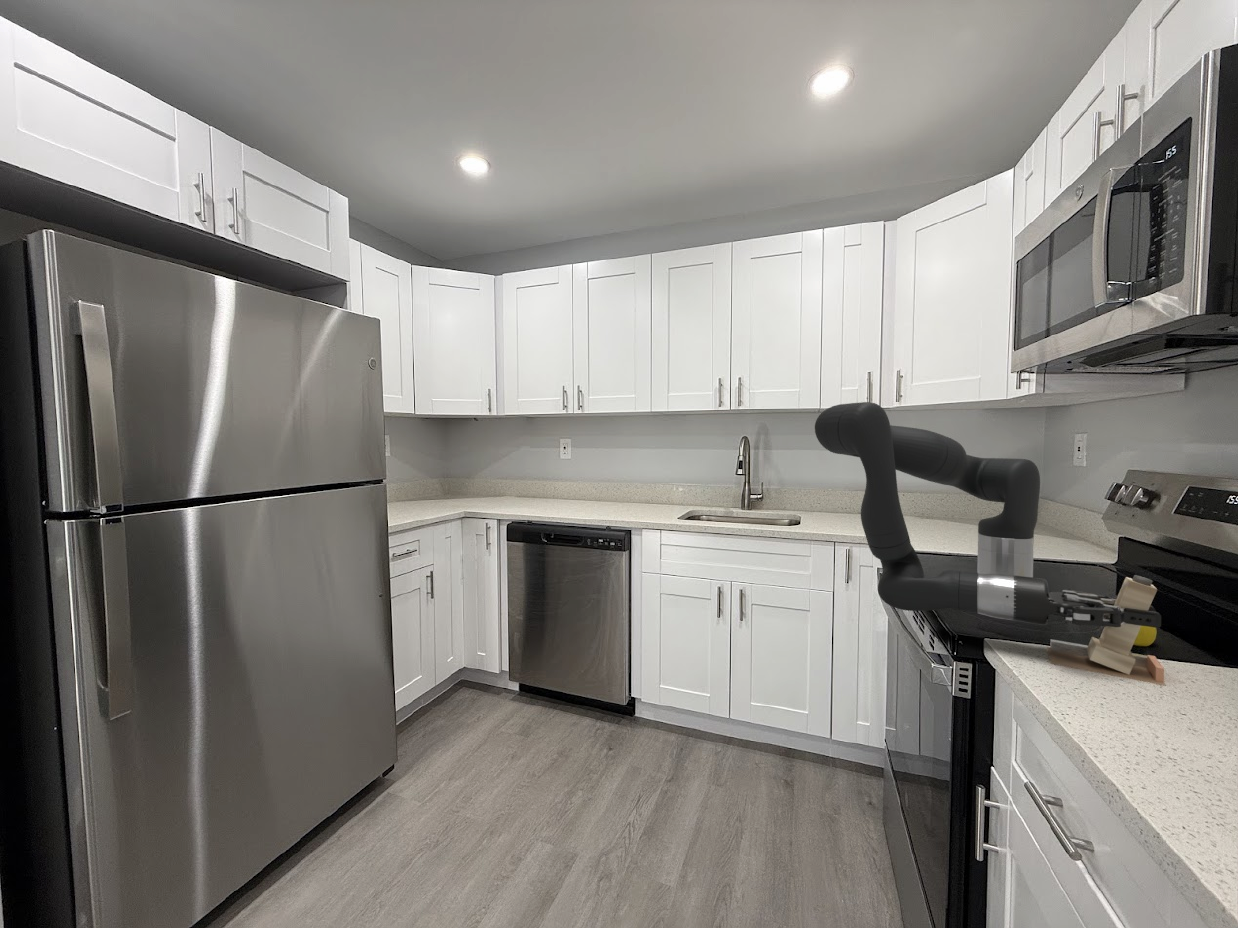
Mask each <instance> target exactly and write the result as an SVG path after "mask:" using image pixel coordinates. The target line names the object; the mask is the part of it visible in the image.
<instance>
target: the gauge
mask: <svg viewBox="0 0 1238 928" xmlns="http://www.w3.org/2000/svg"><path fill="white" fill-rule="evenodd" d="M1152 583H1153V580H1152V579H1150V578H1147V577H1145V576H1141V575H1138V574H1134V575H1133V577H1132V578H1131V577H1128V576H1126V577H1125V578H1124V580H1123V582H1122V585H1121V588H1120V589H1119V592H1118V594H1117V597H1116V598H1115V599H1116V601H1115V604H1114V606H1121V607H1123V608H1130V609H1138V610H1146V611H1148V610H1149V607H1150V606H1152V602H1153V600H1154V598H1155V596H1156V594H1157V592H1158V589H1157V587H1156V586H1154V584H1152ZM1108 618H1110V615H1109V616H1108ZM1103 627H1104V628H1103V630H1102V631H1101V632H1102V633H1101V634H1100V637H1099V638H1096V637H1094V636H1091V638H1090V641H1089V643H1088V645H1087V646H1088V647H1087V650H1086V651H1087V654H1088V656H1089V659H1090V660H1092V661H1094V662H1097V663H1100V664H1102V665H1105V666H1107V667H1110V668H1113V669H1115V670H1118V671H1121V672H1123V673H1126V674H1128V675H1129V674H1130V672H1131V670H1132V668H1133V665H1134V663H1135V661H1136V659H1135V658H1134V656H1133V655H1132V653H1133V652H1132V651H1131V650H1132V648H1133V646H1134V645H1133V644H1134V641H1135V639H1136V637H1137V635H1138V632H1139V630H1140V628H1141V626H1140V625H1133V624H1126V623H1125V624H1124V625H1121V627H1107V626H1103Z"/></svg>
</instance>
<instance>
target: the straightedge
mask: <svg viewBox="0 0 1238 928" xmlns="http://www.w3.org/2000/svg"><path fill="white" fill-rule="evenodd" d="M1049 646H1050V647H1049V648H1051V650H1052V651H1058V652H1063V653H1069V654H1075V655H1080V656H1086V657H1089V656H1088V654H1087V651H1086V650H1087V647H1088V645H1087V644H1082V643H1075V642H1068V641H1063V640H1058V639H1052V638H1051V639H1050V645H1049ZM1131 653H1132V655H1133V656H1134V658H1135V659H1136V661H1135V663H1134V665H1135V666H1141V667H1146V668H1147V655H1145V654H1144V655H1143V654H1139V653H1133V652H1131Z"/></svg>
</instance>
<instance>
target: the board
mask: <svg viewBox="0 0 1238 928" xmlns="http://www.w3.org/2000/svg"><path fill="white" fill-rule="evenodd" d="M1046 650H1047V655H1048V656H1047V657H1048V659H1049V660H1048V661H1049V663H1050V664H1052V665H1057V666H1062V667H1067V668H1073V669H1077V670H1078V669H1079V670H1083V671H1089V672H1093V673H1098V674H1103V675H1107V676H1114V677H1119V678H1124V679H1130V680H1134V681H1138V682H1139V681H1140V682H1146V683H1150V684H1154V685H1155V684H1156V685H1158V686H1159V685H1160V686H1167V685H1166V684H1165V681H1164V682H1160V681H1156V680H1155V679H1154V677H1153V676H1152V674H1151V673H1150V671H1149V670H1148V668H1146V667H1141V666H1135V665H1133V668H1132V670H1131V672H1130V674H1129V675H1128V674H1126V673H1123V672H1121V671H1118V670H1115V669H1113V668H1110V667H1107V666H1105V665H1102V664H1100V663H1097V662H1094V661H1092V660H1090V659H1089V657H1086V656H1080V655H1075V654H1069V653H1063V652H1058V651H1052V650H1051V648H1050V647H1048V646H1046Z"/></svg>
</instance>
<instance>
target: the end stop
mask: <svg viewBox="0 0 1238 928" xmlns="http://www.w3.org/2000/svg"><path fill="white" fill-rule="evenodd" d="M1146 656H1147V668H1148V670H1149V671H1150V673H1151V674H1152V676H1153V677H1154V679H1155V680H1156V681H1160V682H1164V683H1165V668H1164V667H1163V665H1162V664H1161V662H1160V661H1159V660H1158V658H1157V657H1156V656H1155V655H1150V654H1147V655H1146Z"/></svg>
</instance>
